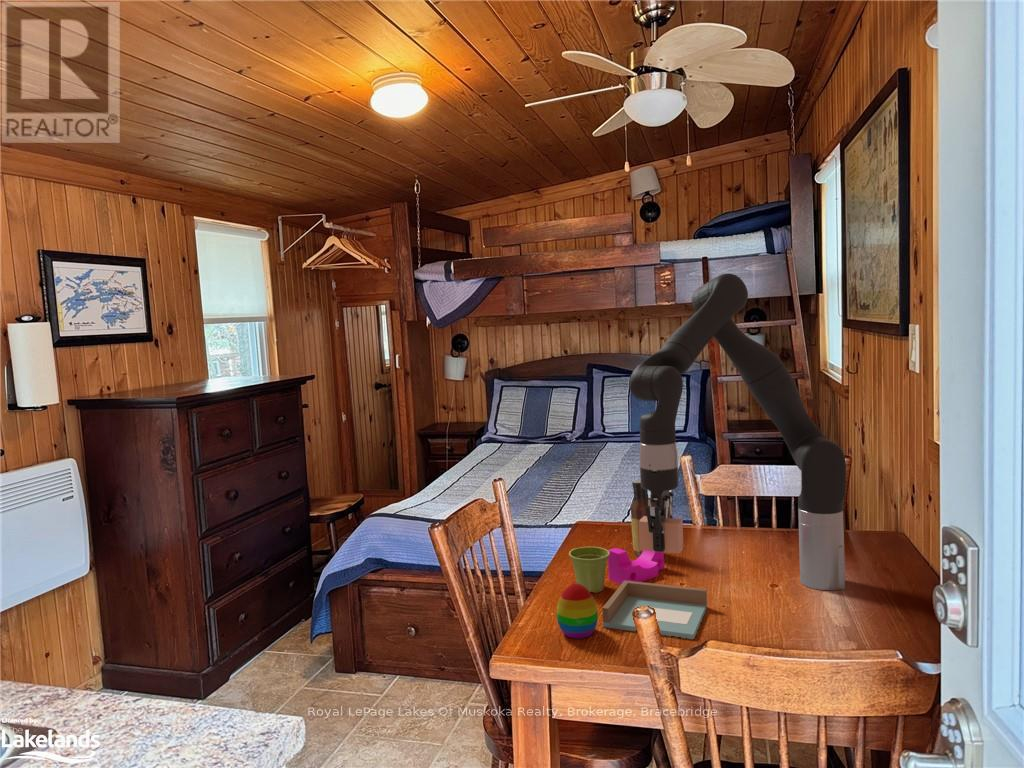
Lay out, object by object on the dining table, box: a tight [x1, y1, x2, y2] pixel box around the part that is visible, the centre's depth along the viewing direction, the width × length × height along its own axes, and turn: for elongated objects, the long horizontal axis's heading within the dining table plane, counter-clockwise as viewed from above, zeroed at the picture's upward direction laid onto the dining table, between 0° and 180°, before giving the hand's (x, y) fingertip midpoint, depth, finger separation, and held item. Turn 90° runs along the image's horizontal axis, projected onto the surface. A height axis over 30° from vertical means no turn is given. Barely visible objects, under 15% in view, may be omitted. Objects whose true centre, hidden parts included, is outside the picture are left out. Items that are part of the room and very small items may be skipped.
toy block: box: [607, 547, 665, 585], centre depth 165 cm, size 15×6×8 cm, turn 124°
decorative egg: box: [556, 582, 599, 640], centre depth 135 cm, size 8×8×10 cm
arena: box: [601, 580, 708, 640], centre depth 141 cm, size 18×16×4 cm
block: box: [639, 516, 684, 555], centre depth 138 cm, size 4×8×6 cm, turn 65°
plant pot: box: [568, 546, 610, 594], centre depth 158 cm, size 9×9×9 cm
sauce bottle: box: [630, 479, 650, 557], centre depth 180 cm, size 6×6×20 cm
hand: (661, 547), depth 138 cm, fingers closed on block, 4 cm apart
